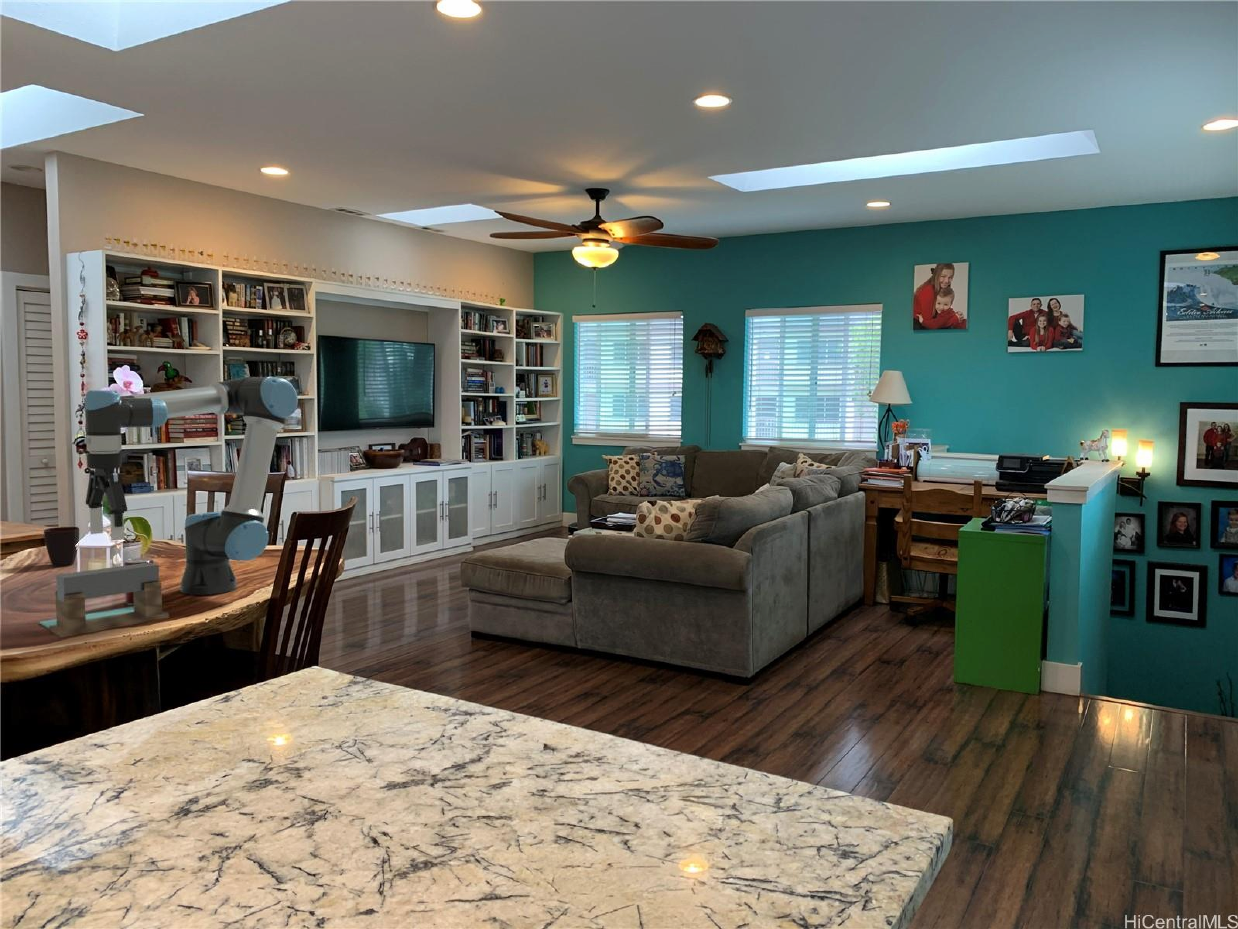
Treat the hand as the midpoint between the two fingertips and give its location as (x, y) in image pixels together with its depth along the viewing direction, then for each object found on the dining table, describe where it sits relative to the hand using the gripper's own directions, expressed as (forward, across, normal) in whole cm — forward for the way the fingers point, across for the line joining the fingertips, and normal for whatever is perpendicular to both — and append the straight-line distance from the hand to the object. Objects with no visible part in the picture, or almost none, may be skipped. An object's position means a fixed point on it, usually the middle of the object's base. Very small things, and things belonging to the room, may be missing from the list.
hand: (106, 536), depth 226 cm
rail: (+14, 0, 0) cm, 15 cm away
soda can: (+23, -18, +14) cm, 32 cm away
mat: (+22, -10, 0) cm, 25 cm away
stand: (+22, 0, 0) cm, 23 cm away
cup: (+22, -91, +18) cm, 95 cm away
